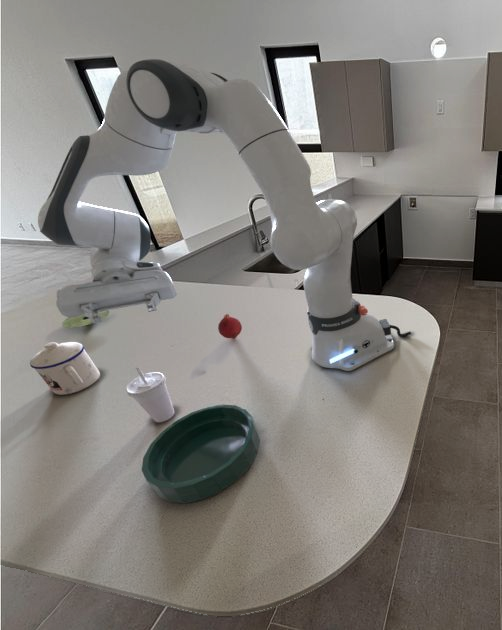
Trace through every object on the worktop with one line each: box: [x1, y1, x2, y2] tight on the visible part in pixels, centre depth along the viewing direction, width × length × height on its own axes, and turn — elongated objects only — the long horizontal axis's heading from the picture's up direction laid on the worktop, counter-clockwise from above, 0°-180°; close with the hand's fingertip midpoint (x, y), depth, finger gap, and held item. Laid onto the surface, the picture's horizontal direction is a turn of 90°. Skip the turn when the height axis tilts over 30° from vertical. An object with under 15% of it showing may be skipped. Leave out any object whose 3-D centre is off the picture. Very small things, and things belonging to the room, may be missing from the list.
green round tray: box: [141, 404, 261, 504], centre depth 62 cm, size 18×18×5 cm
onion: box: [217, 313, 243, 340], centre depth 94 cm, size 6×6×8 cm
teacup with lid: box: [29, 341, 101, 396], centre depth 77 cm, size 12×9×12 cm
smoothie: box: [125, 365, 175, 423], centre depth 68 cm, size 6×6×14 cm
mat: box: [61, 310, 110, 329], centre depth 103 cm, size 11×11×2 cm
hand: (124, 314), depth 72 cm, fingers open, 8 cm apart
